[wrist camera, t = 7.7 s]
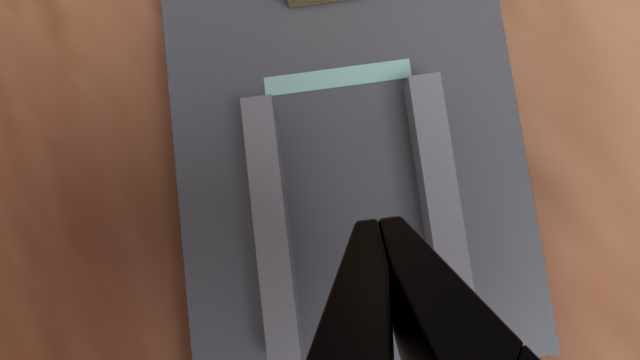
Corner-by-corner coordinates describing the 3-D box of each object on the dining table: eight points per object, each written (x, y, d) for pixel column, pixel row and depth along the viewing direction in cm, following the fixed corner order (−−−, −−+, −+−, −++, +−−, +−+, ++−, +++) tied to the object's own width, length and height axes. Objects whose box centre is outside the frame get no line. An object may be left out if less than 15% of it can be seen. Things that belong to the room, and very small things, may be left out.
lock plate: (540, 343, 21) (580, 364, 17) (208, 381, 21) (181, 410, 18) (468, -78, 23) (491, -135, 20) (171, -36, 24) (140, -85, 20)
